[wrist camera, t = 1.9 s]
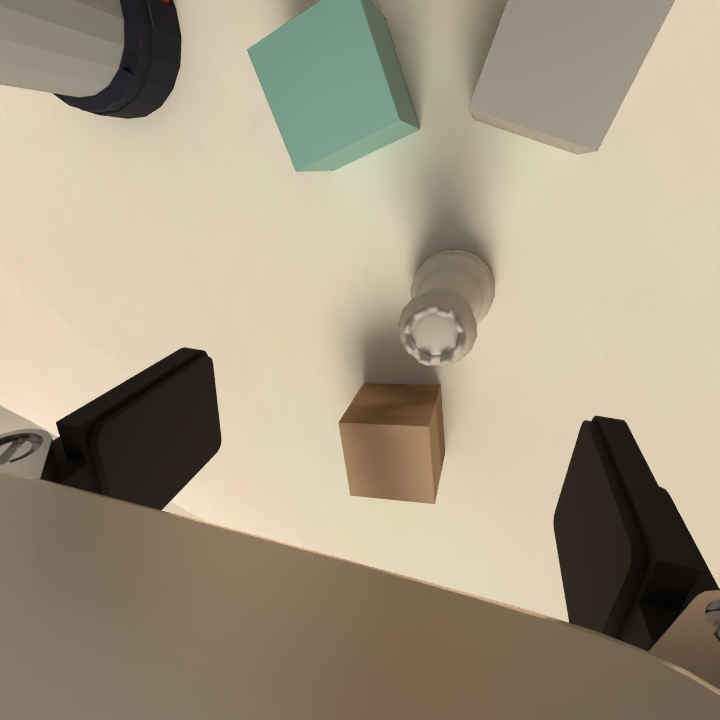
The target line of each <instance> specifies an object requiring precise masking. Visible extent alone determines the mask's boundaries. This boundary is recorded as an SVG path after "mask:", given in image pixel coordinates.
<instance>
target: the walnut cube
mask: <svg viewBox="0 0 720 720" xmlns="http://www.w3.org/2000/svg"><path fill="white" fill-rule="evenodd" d="M339 428H340V434H341V441H342V447H343V453H344V459H345V465H346V471H347V477H348V483H349V489H350V495H351V496H361V497H370V498H380V499H390V500H400V501H410V502H420V503H430V504H435V500H436V495H437V490H438V485H439V480H440V475H441V470H442V466H443V461H444V456H445V446H444V429H443V413H442V397H441V385H408V384H363V385H362V387H361V389H360V390H359V392H358V393H357V395H356V396H355V398H354V399H353V401H352V402H351V404H350V406H349V407H348V409H347V410H346V412H345V413H344V415H343V416H342V418H341V420H340V421H339Z"/></svg>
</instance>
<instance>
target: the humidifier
mask: <svg viewBox="0 0 720 720" xmlns="http://www.w3.org/2000/svg"><path fill="white" fill-rule="evenodd" d="M180 59H181V33H180V28H179V22H178V17H177V11H176V7H175V5H174V3H173V0H0V85H6V86H13V87H19V88H25V89H31V90H37V91H43V92H49V93H53V94H54V95H56V96H57V97H58V98H60V99H61V100H62V101H64V102H65V103H67V104H68V105H69V106H73V107H76V108H79V109H81V110H84V111H88V112H91V113H94V114H98V115H103V116H111V117H119V118H127V119H130V118H138V117H146V116H147V115H149V114H150V113H152V112H153V111H155V110H157V109H158V108H160V107H161V106H162V105H163V103H164V102H165V100H166V99H167V97H168V96H169V94H170V93H171V92H172V90H173V88H174V85H175V81H176V78H177V75H178V71H179V68H180Z"/></svg>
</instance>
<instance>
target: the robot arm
mask: <svg viewBox="0 0 720 720" xmlns="http://www.w3.org/2000/svg"><path fill="white" fill-rule="evenodd" d="M56 425H57V428H58V431H59V435H60V437H58V438H57V439H55V440H52V437H51V435H50V434H49V433H48V432H46V431H43V430H40V429H24V430H16V431H12V432H8V433H4V434H1V435H0V720H720V589H719V587H718V585H717V584H716V582H715V580H714V578H713V576H712V574H711V572H710V570H709V568H708V567H707V565H706V563H705V561H704V559H703V557H702V555H701V553H700V551H699V550H698V548H697V546H696V544H695V542H694V540H693V538H692V536H691V534H690V533H689V531H688V529H687V527H686V525H685V523H684V521H683V519H682V517H681V516H680V514H679V512H678V510H677V508H676V506H675V504H674V502H673V500H672V499H671V497H670V495H669V493H668V492H667V491H666V489H664V488H662V487H659V486H658V484H657V482H656V480H655V478H654V476H653V474H652V472H651V470H650V468H649V466H648V464H647V462H646V461H645V459H644V457H643V455H642V453H641V451H640V449H639V447H638V445H637V443H636V441H635V439H634V437H633V435H632V433H631V431H630V429H629V427H628V425H627V423H626V422H625V421H624V420H619V419H613V418H607V417H601V416H595V417H594V418H593V419H592V421H586V420H585V421H583V423H582V425H581V428H580V431H579V435H578V438H577V441H576V444H575V448H574V451H573V454H572V458H571V461H570V464H569V467H568V471H567V474H566V477H565V480H564V484H563V487H562V490H561V494H560V497H559V500H558V503H557V507H556V510H555V514H554V532H555V538H556V544H557V550H558V557H559V563H560V569H561V575H562V581H563V587H564V593H565V599H566V605H567V611H568V618H569V623H568V622H565V621H561V620H558V619H555V618H552V617H549V616H545V615H542V614H539V613H536V612H532V611H529V610H526V609H523V608H520V607H516V606H512V605H508V604H505V603H501V602H497V601H494V600H490V599H487V598H483V597H479V596H476V595H472V594H469V593H465V592H461V591H458V590H454V589H450V588H447V587H443V586H440V585H436V584H432V583H429V582H425V581H421V580H418V579H414V578H410V577H407V576H403V575H399V574H396V573H392V572H389V571H385V570H381V569H378V568H374V567H370V566H367V565H363V564H359V563H356V562H352V561H348V560H345V559H341V558H337V557H334V556H330V555H326V554H323V553H319V552H315V551H312V550H308V549H304V548H300V547H297V546H293V545H289V544H286V543H282V542H278V541H274V540H271V539H267V538H263V537H259V536H256V535H252V534H248V533H244V532H241V531H237V530H233V529H229V528H226V527H222V526H218V525H214V524H211V523H207V522H203V521H199V520H196V519H192V518H188V517H184V516H180V515H176V514H173V513H169V512H165V511H161V510H162V509H163V508H164V507H165V506H166V505H167V504H168V503H169V502H170V501H171V500H172V499H173V498H174V497H175V496H176V495H177V494H178V493H179V492H180V491H181V489H182V488H183V487H184V486H185V485H186V484H187V483H188V482H189V481H190V480H191V479H192V478H193V477H194V476H195V475H196V474H197V473H198V472H199V471H200V470H201V469H202V468H203V467H204V465H205V464H206V463H207V462H208V461H209V460H210V459H211V458H212V457H213V456H214V455H215V454H216V453H217V452H218V450H219V448H220V445H221V431H220V422H219V413H218V404H217V395H216V386H215V377H214V368H213V361H212V359H211V358H210V357H208V355H207V353H206V352H205V351H203V350H197V349H191V348H185V347H184V348H181V349H179V350H177V351H176V352H174V353H172V354H171V355H169V356H167V357H166V358H164V359H162V360H160V361H159V362H157V363H155V364H154V365H152V366H150V367H149V368H147V369H145V370H144V371H142V372H140V373H138V374H137V375H135V376H133V377H132V378H130V379H128V380H127V381H125V382H123V383H122V384H120V385H118V386H116V387H115V388H113V389H111V390H110V391H108V392H106V393H105V394H103V395H101V396H100V397H98V398H96V399H94V400H93V401H91V402H89V403H88V404H86V405H84V406H83V407H81V408H79V409H78V410H76V411H74V412H72V413H71V414H69V415H67V416H66V417H64V418H62V419H61V420H59V421H57V422H56Z"/></svg>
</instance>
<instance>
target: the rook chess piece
mask: <svg viewBox="0 0 720 720" xmlns="http://www.w3.org/2000/svg"><path fill="white" fill-rule="evenodd" d="M494 296H495V290H494V278H493V276H492V274H491V272H490V270H489V268H488V265H487V264H485V263H484V262H483V261H482V260H481V259H480V258H479V257H477V256H476V255H475V254H472V253H469V252H466V251H463V250H460V249H456V250H444V251H441V252H439V253H437V254H435V255H433V256H431V257H429V258H427V259H426V261H425V262H424V263H423V264H422V265H421V266H420V268H419V269H418V270H417V273H416V275H415V278H414V281H413V284H412V287H411V297H412V300H411V301H410V302H409V303H408V304H407V306H406V307H405V308H404V309H403V310H402V313H401V316H400V319H399V323H398V327H399V337H400V340H401V341H402V343H403V345H404V347H405V349H406V351H407V352H408V354H411V355H412V356H413V357H414V358H416V359H417V360H419V361H418V362H419V363H421V364H424V365H427V366H430V365H441V366H444V365H449V364H451V363H454V362H456V361H459V360H461V359H462V358H463V357H464V356H465V355H466V354H467V353H468V352H469V351H470V350H471V349H472V347H473V344H474V342H475V340H476V337H477V324H478V323H479V322H480V321H481V320H482V319H483V318H484V317H485V316H486V315H487V313H488V311H489V309H490V306H491V304H492V301H493V299H494Z"/></svg>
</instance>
